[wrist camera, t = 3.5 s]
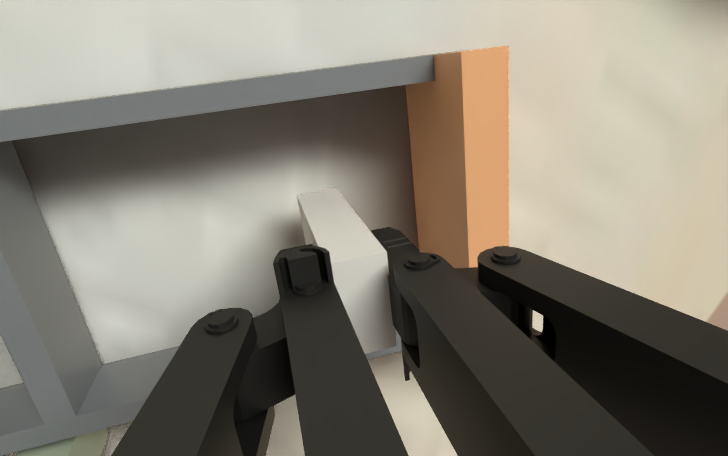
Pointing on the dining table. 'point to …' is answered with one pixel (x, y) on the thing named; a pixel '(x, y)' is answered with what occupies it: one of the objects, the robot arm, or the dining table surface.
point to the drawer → (420, 75)
